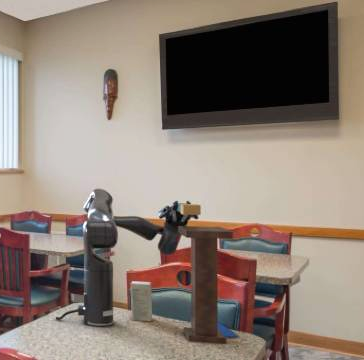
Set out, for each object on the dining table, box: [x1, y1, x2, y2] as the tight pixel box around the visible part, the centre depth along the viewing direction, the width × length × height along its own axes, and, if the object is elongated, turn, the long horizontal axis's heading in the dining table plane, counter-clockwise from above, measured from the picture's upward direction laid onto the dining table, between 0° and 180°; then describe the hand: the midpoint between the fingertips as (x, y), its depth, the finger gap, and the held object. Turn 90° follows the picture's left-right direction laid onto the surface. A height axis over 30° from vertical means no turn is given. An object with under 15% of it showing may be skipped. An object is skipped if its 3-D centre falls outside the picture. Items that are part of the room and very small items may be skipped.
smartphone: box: [218, 321, 238, 339], centre depth 152 cm, size 7×1×15 cm
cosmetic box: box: [130, 280, 153, 322], centre depth 163 cm, size 6×4×12 cm
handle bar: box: [177, 202, 202, 216], centre depth 162 cm, size 5×22×3 cm, turn 167°
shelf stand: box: [178, 225, 234, 344], centre depth 144 cm, size 12×14×32 cm
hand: (182, 203), depth 167 cm, fingers closed on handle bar, 3 cm apart
